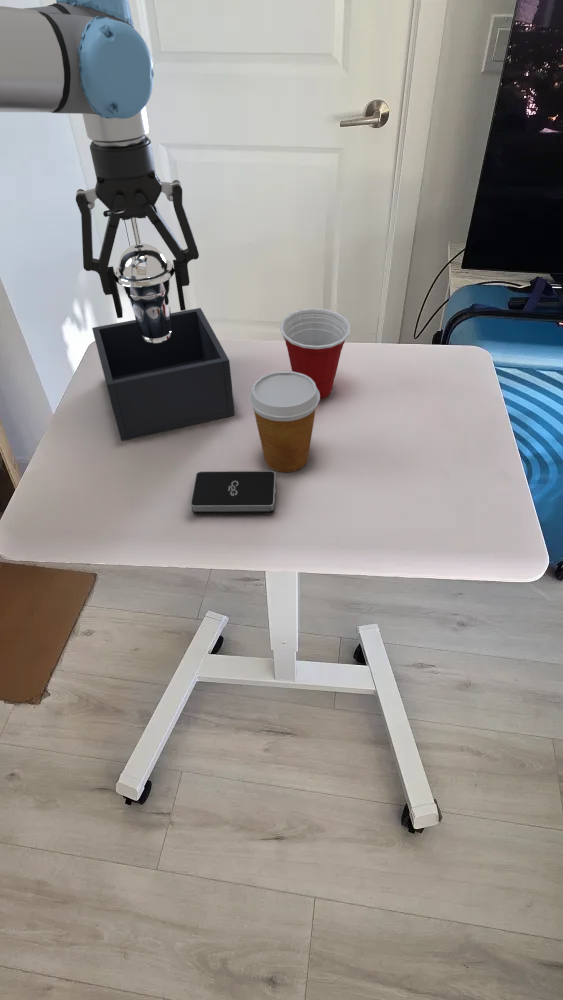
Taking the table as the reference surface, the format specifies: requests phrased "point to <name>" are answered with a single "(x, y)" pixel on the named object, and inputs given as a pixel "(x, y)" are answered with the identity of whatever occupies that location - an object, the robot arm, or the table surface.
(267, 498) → the external hard drive
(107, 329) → the bin
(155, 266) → the cup with straw
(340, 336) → the plastic cup
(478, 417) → the table surface
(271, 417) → the disposable coffee cup
